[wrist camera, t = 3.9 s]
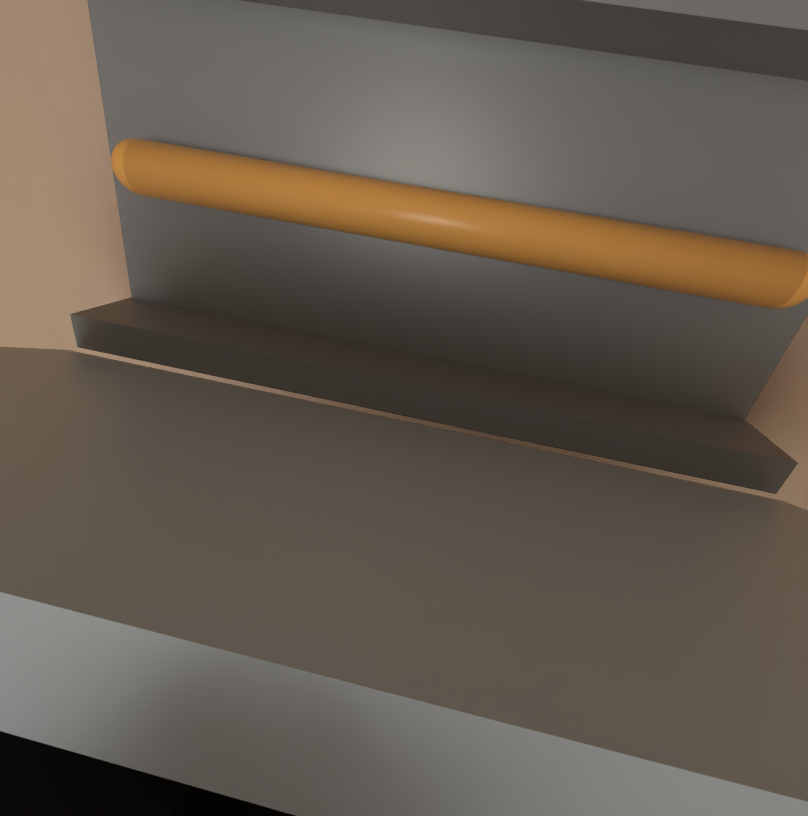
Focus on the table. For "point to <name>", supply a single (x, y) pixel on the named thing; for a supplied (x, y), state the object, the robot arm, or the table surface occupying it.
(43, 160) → the table surface
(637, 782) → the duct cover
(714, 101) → the panel
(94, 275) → the table surface
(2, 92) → the table surface
